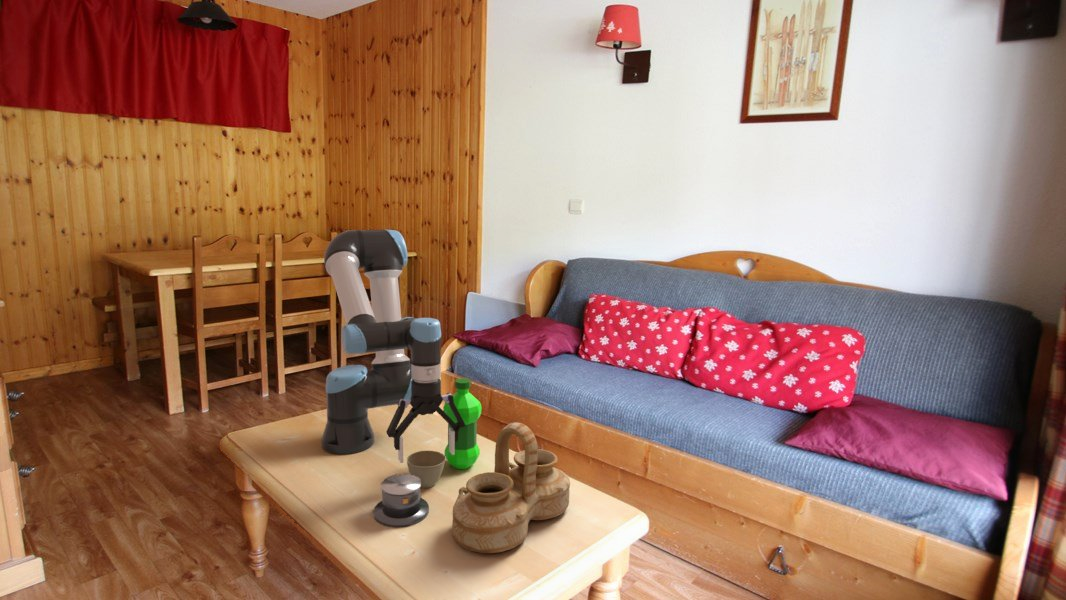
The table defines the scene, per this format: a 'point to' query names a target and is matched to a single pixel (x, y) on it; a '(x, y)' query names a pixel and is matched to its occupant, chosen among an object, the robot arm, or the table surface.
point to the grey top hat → (401, 502)
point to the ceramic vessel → (509, 495)
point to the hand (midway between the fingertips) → (426, 456)
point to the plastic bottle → (470, 413)
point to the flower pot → (426, 466)
